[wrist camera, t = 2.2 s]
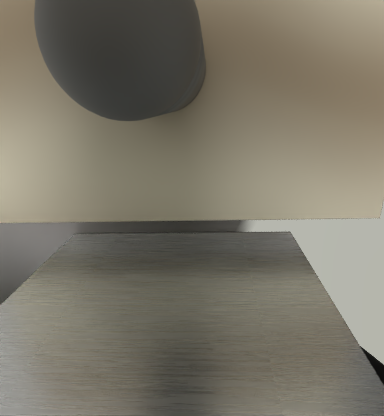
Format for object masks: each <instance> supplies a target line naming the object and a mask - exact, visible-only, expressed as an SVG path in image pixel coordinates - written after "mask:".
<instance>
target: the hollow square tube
mask: <svg viewBox="0 0 384 416" xmlns="http://www.w3.org/2000/svg"><path fill="white" fill-rule="evenodd" d="M0 416H384V385H383V383H382V382H381V380H380V378H379V377H378V375H377V374H376V372H375V370H374V369H373V367H372V365H371V364H370V362H369V360H368V359H367V357H366V355H365V354H364V352H363V350H362V349H361V347H360V346H359V344H358V342H357V341H356V339H355V337H354V336H353V334H352V333H351V331H350V329H349V328H348V326H347V324H346V323H345V321H344V319H343V318H342V316H341V314H340V313H339V311H338V310H337V308H336V306H335V304H334V303H333V301H332V300H331V298H330V296H329V295H328V293H327V291H326V290H325V288H324V287H323V285H322V283H321V281H320V280H319V278H318V276H317V275H316V273H315V272H314V270H313V268H312V267H311V265H310V263H309V262H308V260H307V259H306V257H305V255H304V253H303V252H302V250H301V249H300V247H299V245H298V244H297V242H296V240H295V239H294V237H293V236H292V234H291V232H212V233H108V234H74V235H73V236H72V237H71V238H70V239H69V240H68V241H66V242H65V243H64V244H63V245H62V246H61V247H60V248H59V249H58V250H57V251H56V252H55V253H54V254H53V255H52V256H51V257H50V258H49V259H48V260H47V261H46V262H45V263H44V264H43V265H42V266H41V267H39V268H38V269H37V270H36V271H35V272H34V273H33V274H32V275H31V276H30V277H29V278H28V279H27V280H26V281H25V282H24V283H23V284H22V285H21V286H20V287H19V288H18V289H17V290H16V291H15V292H14V293H12V294H11V295H10V296H9V297H8V298H7V299H6V300H5V301H4V302H3V303H2V304H1V305H0Z"/></svg>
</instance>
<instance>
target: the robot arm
mask: <svg viewBox="0 0 384 416" xmlns="http://www.w3.org/2000/svg"><path fill="white" fill-rule="evenodd" d="M360 347H361V346H360ZM361 349H362V350H363V352H364V354H365V355H366V357H367V359H368V360H369V362H370V364H371V365H372V367H373V369H374V370H375V372H376V374H377V375H378V377H379V378H380V380H381V382H382V383H383V385H384V365H383V364H382V363H381V362H380V361H378V360H377V359H376V358H375V357H373V356H372V355H371V354H369V353H368V352H367V351H366V350H365V349H363V348H362V347H361Z"/></svg>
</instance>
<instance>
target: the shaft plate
mask: <svg viewBox="0 0 384 416" xmlns="http://www.w3.org/2000/svg"><path fill="white" fill-rule="evenodd" d="M383 200H384V0H0V223H44V222H123V221H201V220H276V219H279V220H280V219H350V218H351V219H358V218H380V215H381V210H382V205H383Z"/></svg>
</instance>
